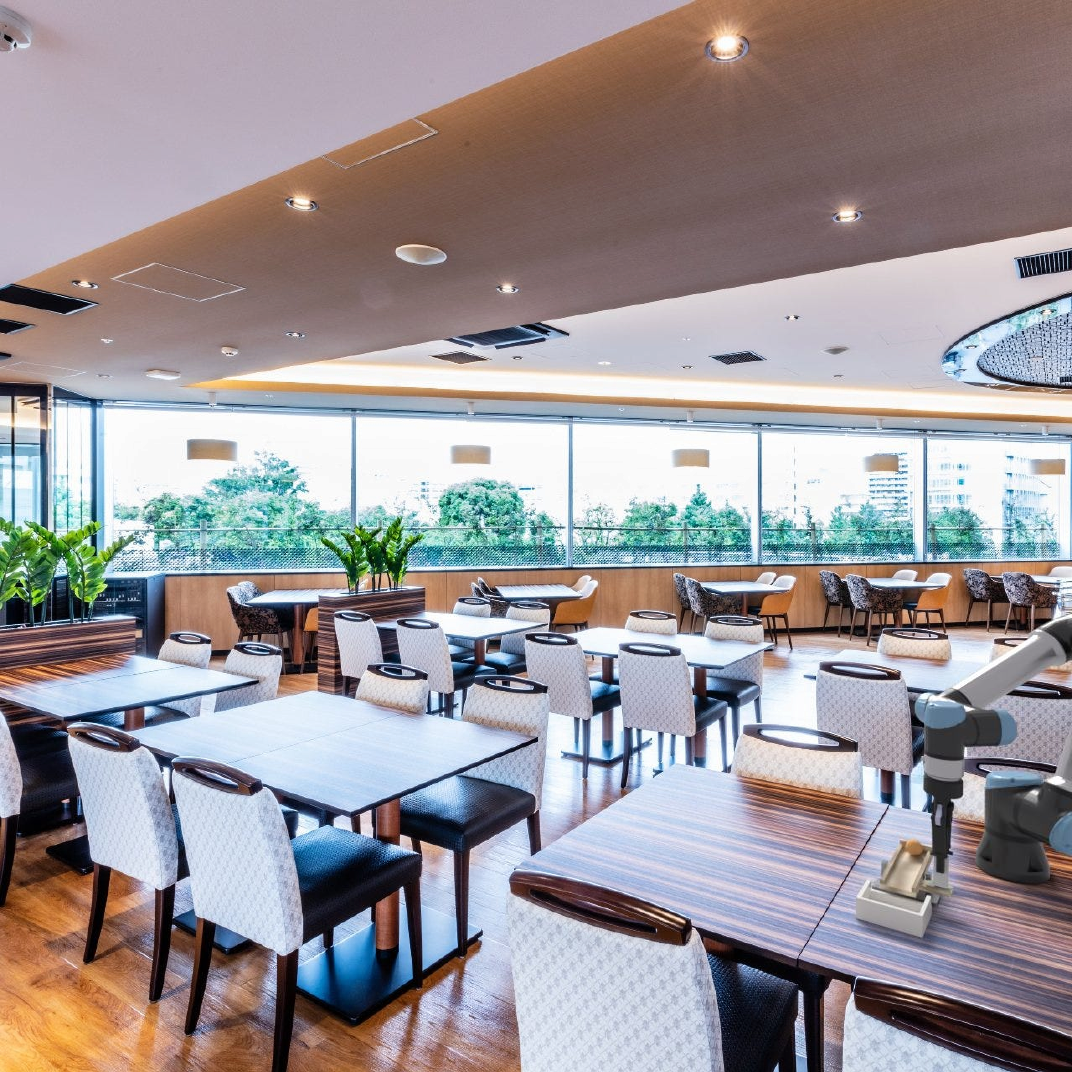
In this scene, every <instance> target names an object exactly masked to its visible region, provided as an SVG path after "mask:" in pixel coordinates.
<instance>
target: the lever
mask: <svg viewBox="0 0 1072 1072" xmlns="http://www.w3.org/2000/svg"><path fill="white" fill-rule="evenodd" d="M909 840H910V839H903V838H900V839H899V843H898V845H897V846H896V847H897V848H896V849H895V851H894V853H893V855H892V856H891V858H890V860H889V862H888V866H887V867H886V869H885V871H884V873H883V875H882V877H881V876H880V888H881V889H885V890H889V891H892V892H896V893H900V894H903V895H907V896H911V897H914V898H916V896H917V894H918V891H919V890H923V891H926V892H930V893H934V894H938V895H940V896H943V897H946V898H952V895H953V893H954V887H953V886H952V885H950V884H948V888H947V889H946V888H942V887H938V886H934V885H933V880H932V881H930V880H928V881H927V880H925V874H926V872H927V871H928V870H929V867H930V866H931V863H932V862H933V860H934V856H933V855H930V852H931V851H932V844H926V843H921V842H920V843H921V845H922V848H923V849H922V853H921V854H920V855H917V856H914V855H911V854H910V853H908V851H907V850H906V843H907V842H908V841H909Z"/></svg>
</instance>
